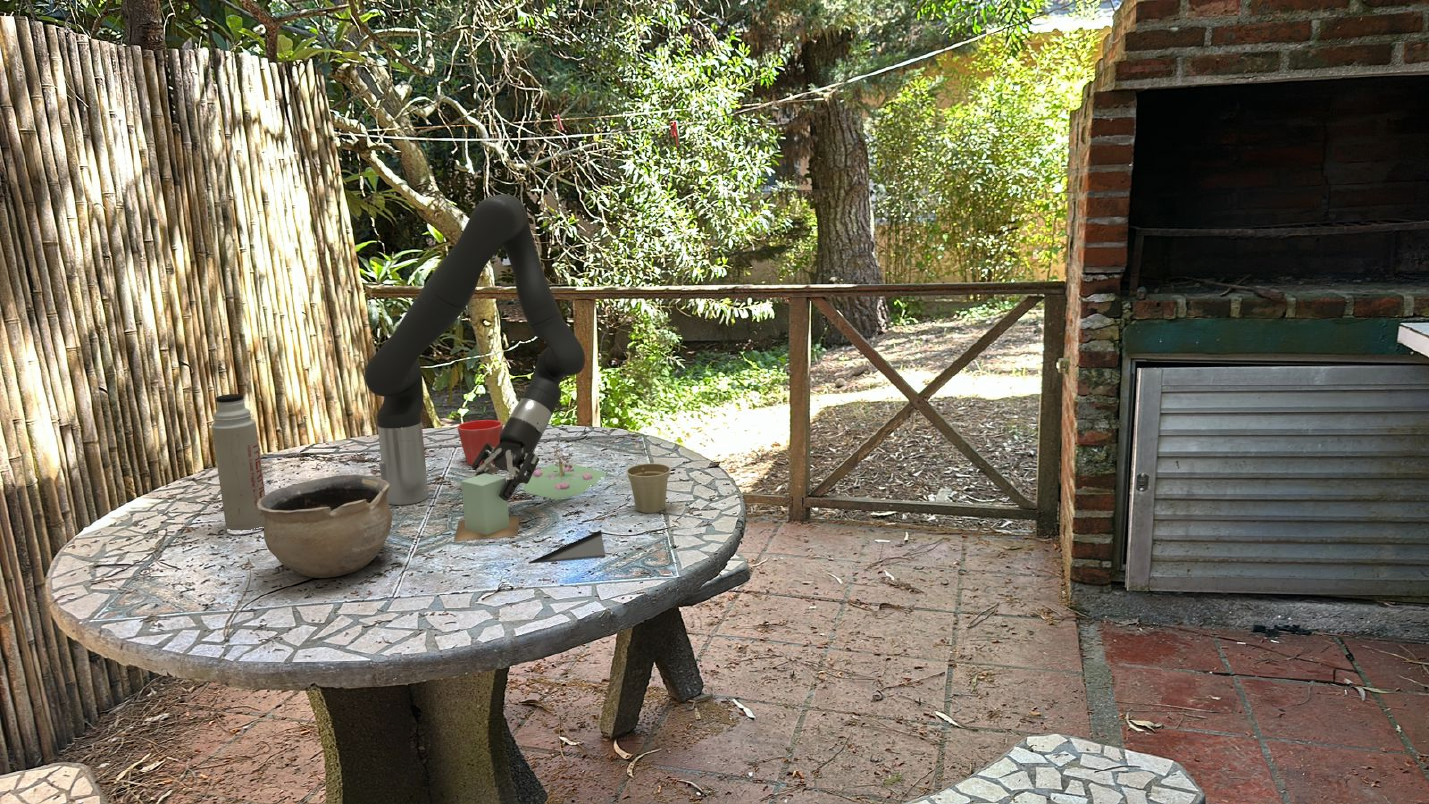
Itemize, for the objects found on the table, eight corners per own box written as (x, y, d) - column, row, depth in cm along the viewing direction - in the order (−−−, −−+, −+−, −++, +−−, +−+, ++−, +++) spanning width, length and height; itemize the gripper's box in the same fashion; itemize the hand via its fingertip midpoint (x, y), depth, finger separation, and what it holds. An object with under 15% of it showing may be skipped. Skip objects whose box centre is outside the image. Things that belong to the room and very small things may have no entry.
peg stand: (454, 548, 187) (450, 506, 185) (459, 527, 199) (455, 487, 197) (518, 543, 189) (515, 501, 187) (519, 522, 201) (516, 482, 199)
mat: (528, 563, 179) (528, 561, 179) (529, 537, 192) (528, 535, 192) (605, 556, 181) (605, 554, 181) (600, 530, 194) (600, 529, 194)
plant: (607, 499, 215) (605, 460, 213) (512, 505, 213) (509, 465, 211) (605, 467, 240) (603, 432, 238) (519, 472, 237) (517, 436, 235)
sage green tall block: (486, 535, 189) (482, 485, 187) (465, 529, 193) (461, 481, 191) (509, 526, 194) (505, 477, 192) (488, 520, 198) (484, 473, 195)
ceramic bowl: (319, 603, 164) (308, 518, 161) (241, 578, 175) (230, 498, 172) (422, 559, 182) (414, 481, 179) (345, 539, 194) (337, 466, 190)
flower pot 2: (638, 519, 201) (636, 478, 199) (620, 506, 209) (618, 467, 207) (679, 511, 205) (678, 471, 203) (661, 499, 213) (659, 460, 211)
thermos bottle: (277, 522, 204) (260, 391, 198) (252, 536, 197) (233, 400, 191) (243, 521, 206) (225, 390, 200) (217, 534, 198) (198, 399, 192)
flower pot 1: (470, 456, 251) (467, 419, 249) (511, 456, 249) (508, 419, 247) (453, 468, 241) (450, 429, 239) (496, 468, 239) (493, 430, 237)
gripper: (490, 412, 200) (451, 480, 194) (541, 420, 192) (501, 491, 186) (512, 431, 206) (474, 498, 199) (561, 440, 198) (524, 510, 191)
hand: (487, 495), depth 193 cm, fingers open, 8 cm apart
